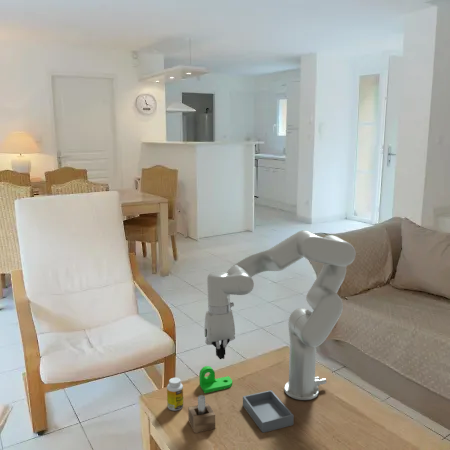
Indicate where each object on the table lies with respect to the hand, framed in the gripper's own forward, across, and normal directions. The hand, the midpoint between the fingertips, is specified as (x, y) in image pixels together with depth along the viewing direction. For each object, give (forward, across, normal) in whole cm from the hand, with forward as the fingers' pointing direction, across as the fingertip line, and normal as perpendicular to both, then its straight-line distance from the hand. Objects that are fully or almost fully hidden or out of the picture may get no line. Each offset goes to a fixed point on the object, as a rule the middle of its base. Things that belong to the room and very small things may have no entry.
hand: (220, 357), depth 161 cm
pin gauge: (+17, +11, +10) cm, 23 cm away
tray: (+18, -12, +13) cm, 25 cm away
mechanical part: (+18, -2, -10) cm, 20 cm away
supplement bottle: (+17, +16, -3) cm, 24 cm away
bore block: (+17, +11, +10) cm, 23 cm away
